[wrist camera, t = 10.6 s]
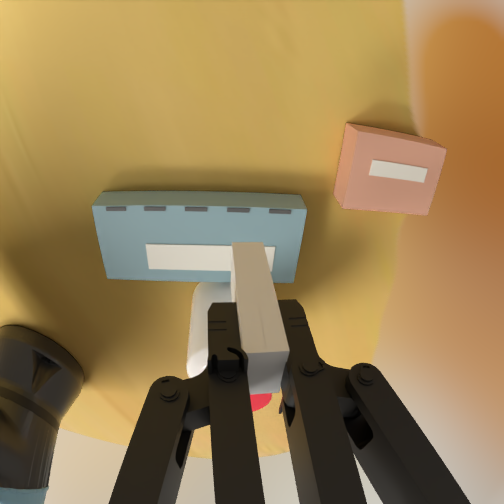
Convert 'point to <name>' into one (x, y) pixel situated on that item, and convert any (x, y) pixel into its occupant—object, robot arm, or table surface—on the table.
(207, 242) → the blue labeled box
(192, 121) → the table surface
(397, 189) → the pink labeled box
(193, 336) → the pill bottle
